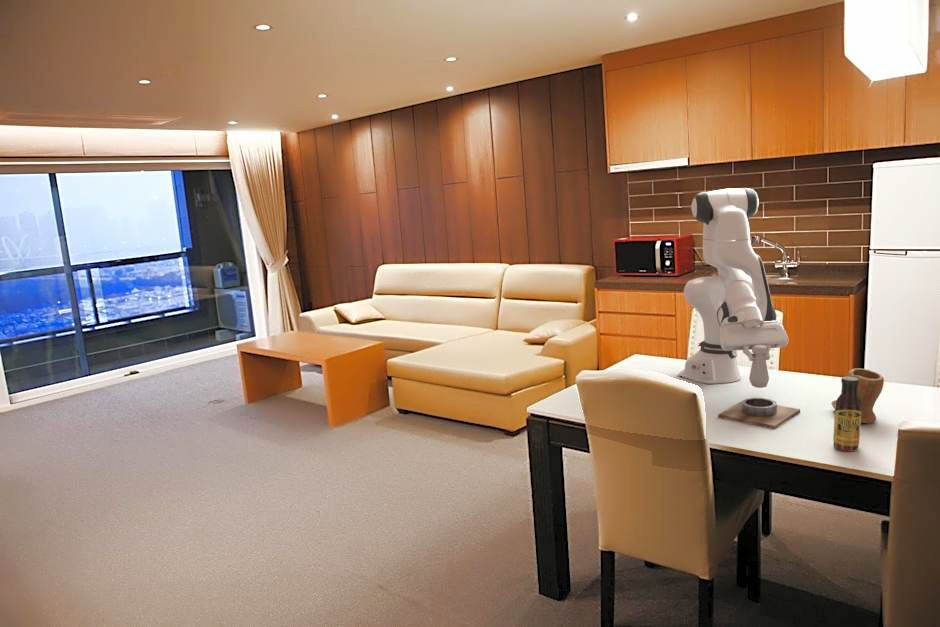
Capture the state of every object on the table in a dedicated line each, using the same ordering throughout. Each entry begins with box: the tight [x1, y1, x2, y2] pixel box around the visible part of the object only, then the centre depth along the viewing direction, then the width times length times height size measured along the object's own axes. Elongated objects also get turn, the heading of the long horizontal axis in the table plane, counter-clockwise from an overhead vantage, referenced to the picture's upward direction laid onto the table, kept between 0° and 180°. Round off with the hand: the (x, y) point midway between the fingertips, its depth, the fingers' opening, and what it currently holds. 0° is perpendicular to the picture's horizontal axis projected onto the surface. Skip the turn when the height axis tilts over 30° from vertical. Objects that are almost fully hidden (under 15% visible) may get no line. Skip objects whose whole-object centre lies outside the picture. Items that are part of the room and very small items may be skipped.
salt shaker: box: [748, 345, 770, 389], centre depth 211 cm, size 6×6×13 cm
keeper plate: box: [718, 400, 801, 430], centre depth 215 cm, size 18×18×1 cm
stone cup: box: [830, 367, 885, 424], centre depth 205 cm, size 15×12×15 cm
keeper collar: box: [742, 397, 778, 417], centre depth 214 cm, size 10×10×3 cm
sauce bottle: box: [832, 376, 862, 452], centre depth 183 cm, size 7×6×20 cm
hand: (759, 359), depth 210 cm, fingers closed on salt shaker, 3 cm apart
